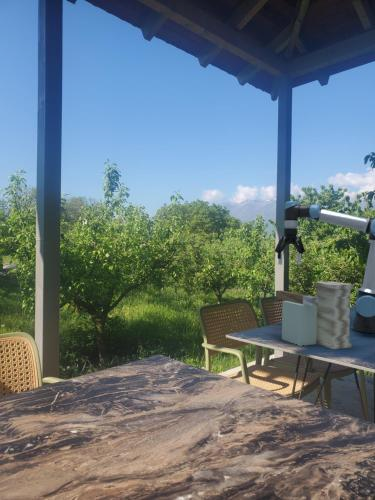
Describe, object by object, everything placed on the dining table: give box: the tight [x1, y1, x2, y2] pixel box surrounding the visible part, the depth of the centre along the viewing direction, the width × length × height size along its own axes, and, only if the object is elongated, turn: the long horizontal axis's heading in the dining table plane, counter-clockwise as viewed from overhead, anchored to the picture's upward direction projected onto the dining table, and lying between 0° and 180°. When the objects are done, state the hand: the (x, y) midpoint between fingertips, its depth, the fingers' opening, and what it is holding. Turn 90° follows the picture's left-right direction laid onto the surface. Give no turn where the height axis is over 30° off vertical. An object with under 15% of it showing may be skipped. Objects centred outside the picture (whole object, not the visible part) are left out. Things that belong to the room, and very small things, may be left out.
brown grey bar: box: [275, 290, 318, 306], centre depth 200 cm, size 4×28×4 cm, turn 23°
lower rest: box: [281, 300, 317, 347], centre depth 197 cm, size 10×14×20 cm
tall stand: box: [313, 281, 355, 350], centre depth 192 cm, size 12×14×30 cm
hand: (289, 264), depth 231 cm, fingers open, 13 cm apart
